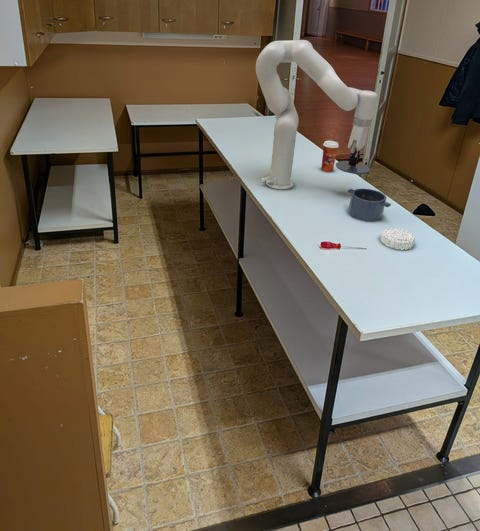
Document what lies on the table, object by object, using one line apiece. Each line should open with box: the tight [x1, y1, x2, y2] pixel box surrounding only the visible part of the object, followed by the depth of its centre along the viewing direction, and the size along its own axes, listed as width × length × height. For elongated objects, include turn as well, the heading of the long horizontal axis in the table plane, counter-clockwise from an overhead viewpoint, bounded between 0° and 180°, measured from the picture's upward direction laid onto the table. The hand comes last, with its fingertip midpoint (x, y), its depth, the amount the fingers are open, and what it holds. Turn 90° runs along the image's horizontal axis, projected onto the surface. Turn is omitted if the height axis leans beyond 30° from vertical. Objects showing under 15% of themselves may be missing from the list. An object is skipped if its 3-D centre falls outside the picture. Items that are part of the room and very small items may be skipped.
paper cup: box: [321, 140, 340, 173], centre depth 245 cm, size 8×8×14 cm
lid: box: [335, 156, 371, 175], centre depth 216 cm, size 15×15×6 cm
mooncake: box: [379, 227, 416, 251], centre depth 184 cm, size 12×12×4 cm
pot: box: [347, 188, 392, 222], centre depth 203 cm, size 14×19×8 cm
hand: (353, 164), depth 216 cm, fingers closed on lid, 2 cm apart
